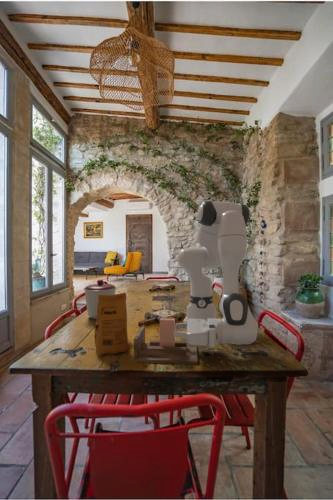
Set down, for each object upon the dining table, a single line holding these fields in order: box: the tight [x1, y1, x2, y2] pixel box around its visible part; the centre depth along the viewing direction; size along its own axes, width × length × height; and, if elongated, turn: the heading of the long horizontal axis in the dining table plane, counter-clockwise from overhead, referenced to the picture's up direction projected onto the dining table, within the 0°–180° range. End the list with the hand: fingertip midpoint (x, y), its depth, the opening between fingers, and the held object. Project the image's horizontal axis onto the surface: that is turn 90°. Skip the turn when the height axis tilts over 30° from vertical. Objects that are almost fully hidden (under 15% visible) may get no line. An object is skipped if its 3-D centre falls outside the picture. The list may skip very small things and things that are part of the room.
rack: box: [133, 325, 199, 365], centre depth 103 cm, size 16×22×8 cm
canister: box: [83, 279, 117, 320], centre depth 156 cm, size 18×18×21 cm
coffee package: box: [94, 292, 129, 356], centre depth 107 cm, size 10×12×22 cm
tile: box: [159, 317, 176, 347], centre depth 103 cm, size 2×6×12 cm, turn 85°
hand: (174, 329), depth 103 cm, fingers open, 8 cm apart
